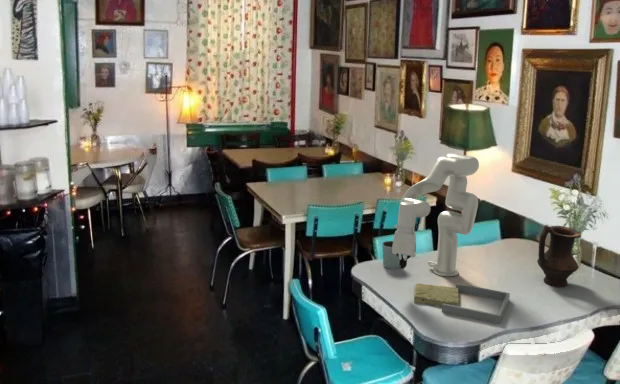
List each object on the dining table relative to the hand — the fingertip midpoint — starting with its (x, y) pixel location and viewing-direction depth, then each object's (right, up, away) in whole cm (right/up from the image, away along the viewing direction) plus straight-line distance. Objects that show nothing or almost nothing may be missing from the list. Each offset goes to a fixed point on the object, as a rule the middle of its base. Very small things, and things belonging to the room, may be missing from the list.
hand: (402, 267), depth 282 cm
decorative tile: (+15, -14, -3) cm, 20 cm away
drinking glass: (-1, -4, +35) cm, 35 cm away
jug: (+76, -10, +18) cm, 79 cm away
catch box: (+31, -16, -11) cm, 36 cm away
